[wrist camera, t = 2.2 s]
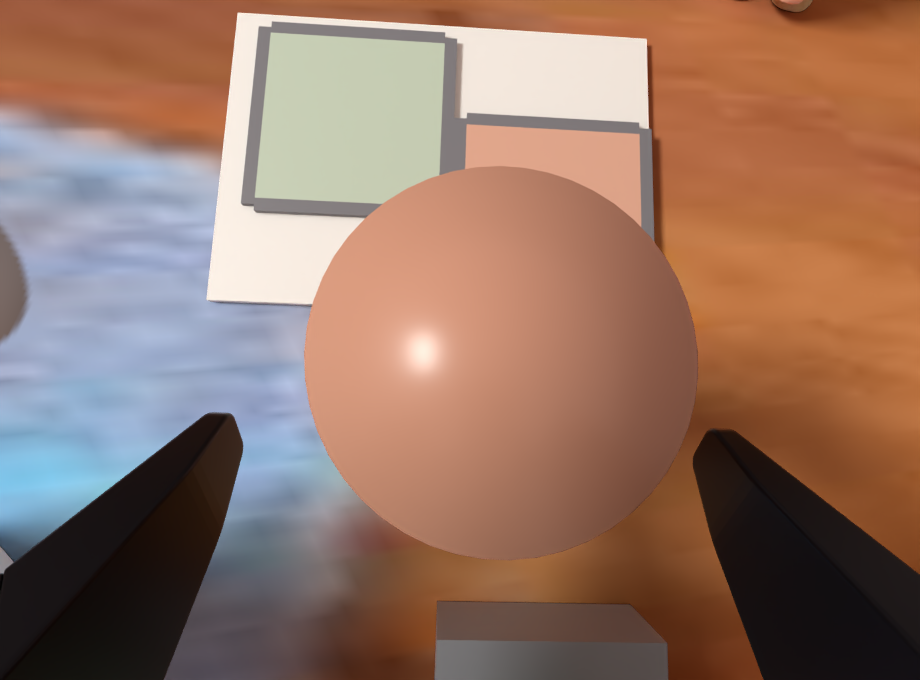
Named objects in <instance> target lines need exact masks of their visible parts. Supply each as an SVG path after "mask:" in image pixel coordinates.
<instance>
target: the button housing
mask: <svg viewBox="0 0 920 680" xmlns="http://www.w3.org/2000/svg"><path fill="white" fill-rule="evenodd" d="M434 680H668V651H667V642H666V641H665V640H664V639H663V638H662V637H661V636H660V635H659V634H658V633H657V632H656V631H655V630H654V629H653V628H652V627H651V626H650V625H649V623H648V622H647V621H646V620H645V619H644V618H643V617H642V616H641V615H640V614H639V613H638V612H637V611H636V610H635V609H634V608H633V607H632V606H631V605H630V604H575V603H517V602H459V601H437V619H436V646H435V673H434Z"/></svg>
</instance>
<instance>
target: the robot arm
mask: <svg viewBox="0 0 920 680" xmlns="http://www.w3.org/2000/svg"><path fill="white" fill-rule="evenodd" d="M242 453H243V441H242V438H241V435H240V432H239V429H238V427H237V424H236V421H235V418H234V416H233V415H232V414H230V413H217V412H211V413H207V414H205V415H204V416H202V417H201V418H200V419H199V420H197V421H196V422H195V423H193V424H192V425H191V426H190V427H188V428H187V429H186V430H184V431H183V432H182V433H180V434H179V435H178V436H177V437H175V438H174V439H173V440H171V441H170V442H169V443H168V444H166V445H165V446H164V447H162V448H161V449H160V450H158V451H157V452H156V453H155V454H153V455H152V456H151V457H149V458H148V459H147V460H146V461H144V462H143V463H142V464H140V465H139V466H138V467H136V468H135V469H134V470H133V471H131V472H130V473H129V474H127V475H126V476H125V477H124V478H122V479H121V480H120V481H118V482H117V483H116V484H114V485H113V486H112V487H111V488H109V489H108V490H107V491H105V492H104V493H103V494H101V495H100V496H99V497H98V498H96V499H95V500H94V501H92V502H91V503H90V504H89V505H87V506H86V507H85V508H83V509H82V510H81V511H79V512H78V513H77V514H76V515H74V516H73V517H72V518H70V519H69V520H68V521H67V522H65V523H64V524H63V525H61V526H60V527H59V528H57V529H56V530H55V531H54V532H52V533H51V534H50V535H48V536H47V537H46V538H45V539H43V540H42V541H41V542H39V543H38V544H37V545H35V546H34V547H33V548H32V549H30V550H29V551H28V552H26V553H25V554H24V555H23V556H21V557H20V558H19V559H17V560H16V561H15V562H13V563H12V564H11V565H10V566H8V567H7V568H6V569H5V570H4V574H3V573H0V680H164V678H165V675H166V673H167V670H168V668H169V665H170V662H171V660H172V657H173V655H174V652H175V650H176V647H177V645H178V642H179V639H180V637H181V634H182V632H183V629H184V627H185V624H186V622H187V619H188V616H189V614H190V611H191V609H192V606H193V604H194V601H195V598H196V596H197V593H198V591H199V588H200V586H201V583H202V581H203V578H204V575H205V573H206V570H207V568H208V565H209V563H210V560H211V558H212V555H213V552H214V550H215V547H216V545H217V542H218V539H219V537H220V534H221V531H222V528H223V524H224V521H225V517H226V514H227V510H228V506H229V502H230V499H231V495H232V491H233V487H234V484H235V480H236V476H237V472H238V469H239V465H240V461H241V457H242ZM693 469H694V472H695V476H696V480H697V484H698V488H699V492H700V496H701V500H702V504H703V508H704V512H705V515H706V519H707V523H708V527H709V531H710V534H711V538H712V541H713V544H714V547H715V550H716V553H717V556H718V558H719V561H720V564H721V566H722V569H723V572H724V574H725V577H726V580H727V583H728V585H729V588H730V591H731V593H732V596H733V599H734V601H735V604H736V607H737V609H738V612H739V615H740V617H741V620H742V623H743V626H744V628H745V631H746V634H747V636H748V639H749V642H750V644H751V647H752V650H753V652H754V655H755V658H756V660H757V663H758V666H759V669H760V671H761V674H762V677H763V679H764V680H920V574H918V573H917V572H916V571H915V570H913V569H912V568H911V567H909V566H908V565H907V564H906V563H904V562H903V561H902V560H900V559H899V558H898V557H897V556H895V555H894V554H893V553H891V552H890V551H889V550H888V549H886V548H885V547H884V546H882V545H881V544H880V543H879V542H877V541H876V540H875V539H873V538H872V537H871V536H870V535H868V534H867V533H866V532H864V531H863V530H862V529H861V528H859V527H858V526H857V525H855V524H854V523H853V522H852V521H850V520H849V519H848V518H846V517H845V516H844V515H843V514H841V513H840V512H839V511H837V510H836V509H835V508H834V507H832V506H831V505H830V504H828V503H827V502H826V501H825V500H823V499H822V498H821V497H819V496H818V495H817V494H816V493H814V492H813V491H812V490H810V489H809V488H808V487H807V486H805V485H804V484H803V483H801V482H800V481H799V480H798V479H796V478H795V477H794V476H792V475H791V474H790V473H789V472H787V471H786V470H785V469H783V468H782V467H781V466H780V465H778V464H777V463H776V462H774V461H773V460H772V459H771V458H769V457H768V456H767V455H765V454H764V453H763V452H762V451H760V450H759V449H758V448H756V447H755V446H754V445H753V444H751V443H750V442H749V441H747V440H746V439H745V438H744V437H742V436H741V435H740V434H738V433H737V432H736V431H734V430H731V429H720V428H712V429H710V430H708V431H707V432H706V434H705V435H704V437H703V439H702V441H701V443H700V444H699V446H698V448H697V450H696V452H695V454H694V456H693Z"/></svg>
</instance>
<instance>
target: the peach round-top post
mask: <svg viewBox="0 0 920 680" xmlns="http://www.w3.org/2000/svg"><path fill="white" fill-rule="evenodd" d="M304 358H305V381H306V387H307V393H308V399H309V405H310V409H311V412H312V415H313V418H314V421H315V425H316V428H317V431H318V433H319V435H320V438H321V440H322V442H323V444H324V446H325V448H326V451H327V453H328V455H329V457H330V458H331V460H332V461H333V463H334V464H335V466H336V468H337V469H338V471H339V472H340V474H341V475H342V477H343V479H344V480H345V481H346V482H347V483H348V484H349V486H350V487H351V488H352V489H353V490H354V491H355V493H356V494H357V495H358V496H359V497H360V499H361V500H362V501H364V502H365V503H366V504H367V505H368V506H369V507H370V508H371V509H372V510H374V511H375V512H376V513H377V514H378V515H379V516H380V517H381V518H383V519H384V520H386V521H387V522H389V523H390V524H392V525H393V526H395V527H396V528H398V529H399V530H401V531H402V532H404V533H405V534H407V535H409V536H411V537H413V538H415V539H417V540H419V541H421V542H423V543H426V544H428V545H430V546H433V547H436V548H439V549H442V550H445V551H448V552H451V553H454V554H458V555H464V556H469V557H475V558H480V559H496V560H516V559H526V558H537V557H541V556H545V555H549V554H554V553H558V552H562V551H565V550H567V549H570V548H573V547H575V546H578V545H580V544H583V543H585V542H588V541H590V540H591V539H593V538H595V537H597V536H599V535H600V534H602V533H604V532H606V531H607V530H609V529H611V528H612V527H614V526H615V525H616V524H618V523H619V522H620V521H622V520H623V519H624V518H626V517H627V516H628V515H629V514H631V513H632V512H633V511H634V510H635V509H636V508H637V507H638V506H639V505H640V504H641V503H642V502H643V501H644V500H645V499H646V498H647V497H648V496H649V495H650V494H651V493H652V492H653V490H654V489H655V488H656V486H657V485H658V484H659V482H660V481H661V480H662V478H663V477H664V476H665V474H666V473H667V471H668V469H669V468H670V466H671V464H672V462H673V461H674V459H675V457H676V455H677V453H678V452H679V450H680V447H681V445H682V442H683V440H684V437H685V435H686V432H687V430H688V427H689V423H690V419H691V415H692V411H693V407H694V403H695V397H696V388H697V380H698V350H697V344H696V337H695V330H694V324H693V321H692V317H691V313H690V310H689V306H688V302H687V300H686V297H685V295H684V293H683V290H682V288H681V285H680V283H679V281H678V278H677V276H676V275H675V273H674V271H673V269H672V268H671V266H670V264H669V262H668V261H667V259H666V257H665V256H664V254H663V253H662V252H661V250H660V249H659V248H658V246H657V245H656V244H655V242H654V241H653V240H652V238H651V237H650V236H649V235H648V234H647V233H646V232H645V231H644V230H643V229H642V228H641V227H640V226H639V225H638V223H637V222H636V221H635V220H634V219H633V218H631V217H630V216H629V215H628V214H626V213H625V212H624V211H623V210H621V209H620V208H619V207H618V206H617V205H615V204H614V203H612V202H611V201H609V200H608V199H606V198H605V197H603V196H601V195H600V194H598V193H597V192H595V191H593V190H591V189H589V188H587V187H585V186H583V185H581V184H579V183H576V182H574V181H572V180H569V179H566V178H563V177H560V176H557V175H554V174H551V173H548V172H543V171H538V170H533V169H528V168H520V167H507V166H490V167H474V168H469V169H463V170H457V171H452V172H449V173H445V174H442V175H439V176H436V177H432V178H429V179H427V180H425V181H422V182H420V183H418V184H416V185H414V186H411V187H409V188H407V189H405V190H404V191H402V192H400V193H399V194H397V195H395V196H394V197H392V198H391V199H389V200H387V201H386V202H384V203H383V204H382V205H381V206H380V207H378V208H377V209H376V210H375V211H373V212H372V213H371V214H370V215H368V216H367V217H366V218H365V219H364V220H363V221H362V222H361V223H360V224H359V225H358V226H357V228H356V229H355V230H354V231H353V232H352V233H351V234H350V235H349V236H348V237H347V239H346V240H345V242H344V243H343V244H342V246H341V247H340V248H339V250H338V251H337V253H336V254H335V255H334V257H333V259H332V261H331V263H330V264H329V266H328V268H327V270H326V272H325V274H324V275H323V277H322V280H321V282H320V285H319V287H318V290H317V293H316V295H315V298H314V300H313V304H312V308H311V312H310V316H309V321H308V325H307V331H306V341H305V351H304Z"/></svg>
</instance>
